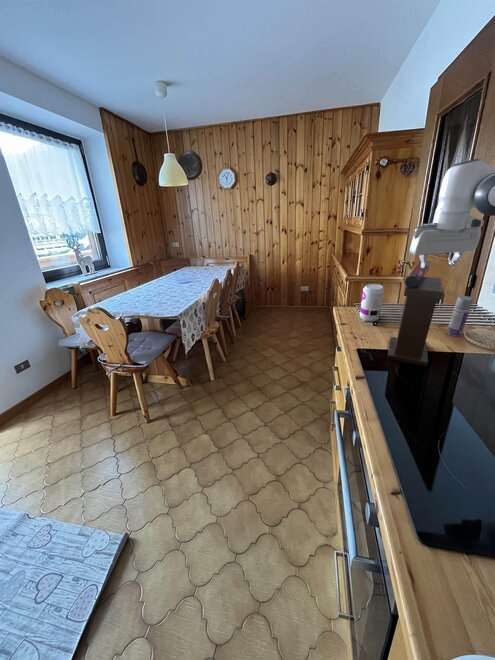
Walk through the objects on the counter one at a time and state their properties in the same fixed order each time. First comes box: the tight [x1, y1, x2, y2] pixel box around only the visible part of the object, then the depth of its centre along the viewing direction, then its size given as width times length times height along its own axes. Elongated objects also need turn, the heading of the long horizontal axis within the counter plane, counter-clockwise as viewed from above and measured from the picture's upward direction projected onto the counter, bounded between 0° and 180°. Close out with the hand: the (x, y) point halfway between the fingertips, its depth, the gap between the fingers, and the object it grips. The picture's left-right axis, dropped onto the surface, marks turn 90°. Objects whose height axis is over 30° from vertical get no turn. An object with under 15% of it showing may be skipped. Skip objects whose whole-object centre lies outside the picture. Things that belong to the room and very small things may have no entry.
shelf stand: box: [386, 275, 445, 367], centre depth 96 cm, size 14×12×26 cm
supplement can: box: [359, 283, 385, 323], centre depth 124 cm, size 8×8×15 cm
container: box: [446, 295, 474, 337], centre depth 108 cm, size 5×5×15 cm
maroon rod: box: [404, 260, 431, 288], centre depth 93 cm, size 22×4×4 cm, turn 141°
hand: (438, 266), depth 93 cm, fingers open, 8 cm apart
